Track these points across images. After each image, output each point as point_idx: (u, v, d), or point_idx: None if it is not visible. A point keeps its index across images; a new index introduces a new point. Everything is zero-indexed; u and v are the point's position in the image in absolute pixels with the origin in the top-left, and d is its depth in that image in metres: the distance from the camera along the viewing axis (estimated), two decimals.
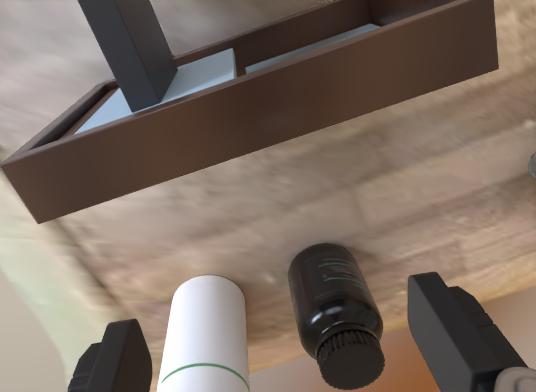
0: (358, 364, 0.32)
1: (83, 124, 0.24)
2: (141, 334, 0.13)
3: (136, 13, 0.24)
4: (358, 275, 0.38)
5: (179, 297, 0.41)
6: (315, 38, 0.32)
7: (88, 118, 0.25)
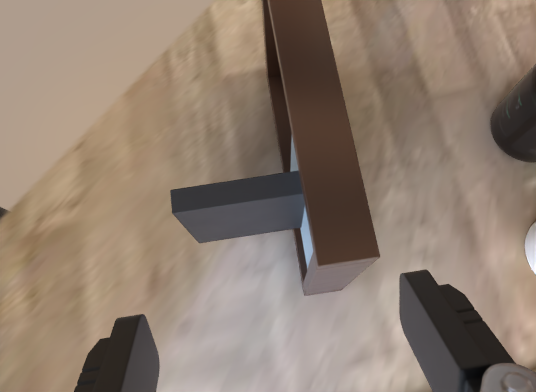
0: None
1: None
2: (149, 330, 0.13)
3: None
4: (520, 80, 0.38)
5: None
6: None
7: None
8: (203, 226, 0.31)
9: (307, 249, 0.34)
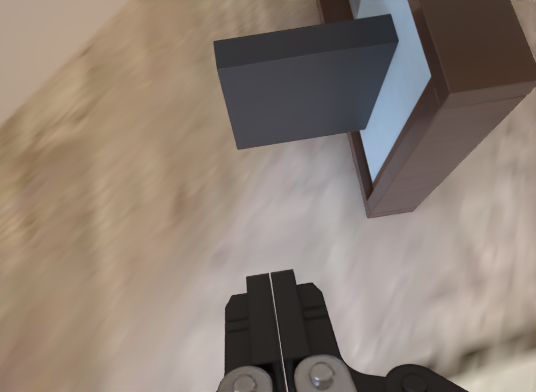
0: None
1: (408, 117, 0.21)
2: None
3: None
4: None
5: None
6: (345, 6, 0.34)
7: (402, 129, 0.22)
8: (251, 110, 0.24)
9: (379, 147, 0.26)
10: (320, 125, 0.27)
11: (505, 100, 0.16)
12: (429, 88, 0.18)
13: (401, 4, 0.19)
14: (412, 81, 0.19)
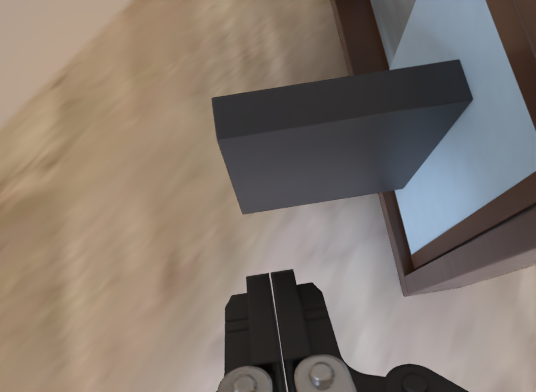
0: None
1: (484, 204, 0.15)
2: None
3: None
4: None
5: None
6: (372, 29, 0.28)
7: (470, 215, 0.16)
8: (261, 178, 0.18)
9: (426, 219, 0.20)
10: (348, 188, 0.21)
11: None
12: (535, 183, 0.12)
13: (482, 50, 0.13)
14: (497, 160, 0.14)
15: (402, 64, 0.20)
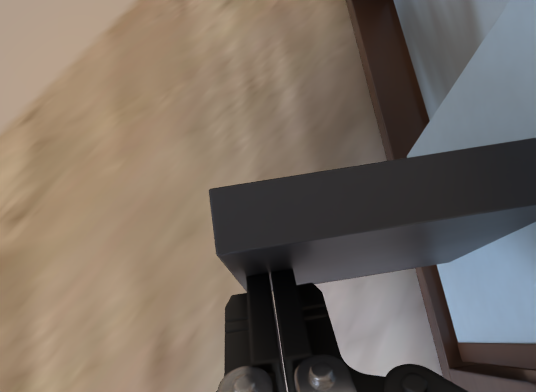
0: None
1: None
2: None
3: None
4: None
5: None
6: (402, 55, 0.24)
7: None
8: None
9: (486, 314, 0.16)
10: (384, 268, 0.17)
11: None
12: None
13: None
14: None
15: (456, 114, 0.16)
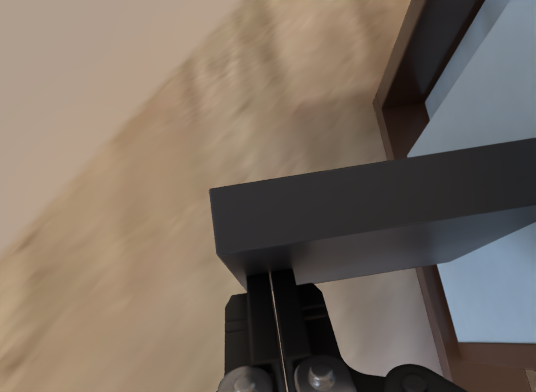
0: None
1: None
2: None
3: None
4: None
5: None
6: None
7: None
8: None
9: (486, 314, 0.16)
10: (384, 268, 0.17)
11: None
12: None
13: None
14: None
15: (456, 113, 0.16)
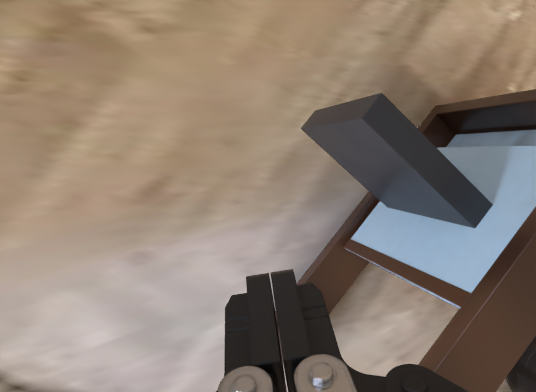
0: None
1: (421, 270, 0.24)
2: None
3: None
4: None
5: None
6: None
7: (409, 265, 0.25)
8: (343, 139, 0.25)
9: (381, 237, 0.29)
10: (367, 181, 0.29)
11: None
12: (454, 292, 0.21)
13: (505, 218, 0.21)
14: (450, 263, 0.22)
15: (466, 158, 0.27)
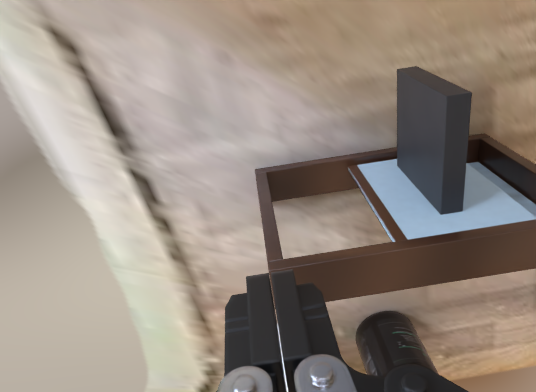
0: None
1: (389, 212, 0.32)
2: None
3: None
4: (422, 345, 0.47)
5: None
6: None
7: (383, 204, 0.33)
8: (420, 99, 0.31)
9: (379, 179, 0.37)
10: (403, 139, 0.36)
11: None
12: (399, 234, 0.29)
13: (462, 222, 0.30)
14: (409, 220, 0.31)
15: (472, 177, 0.35)
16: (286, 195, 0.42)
